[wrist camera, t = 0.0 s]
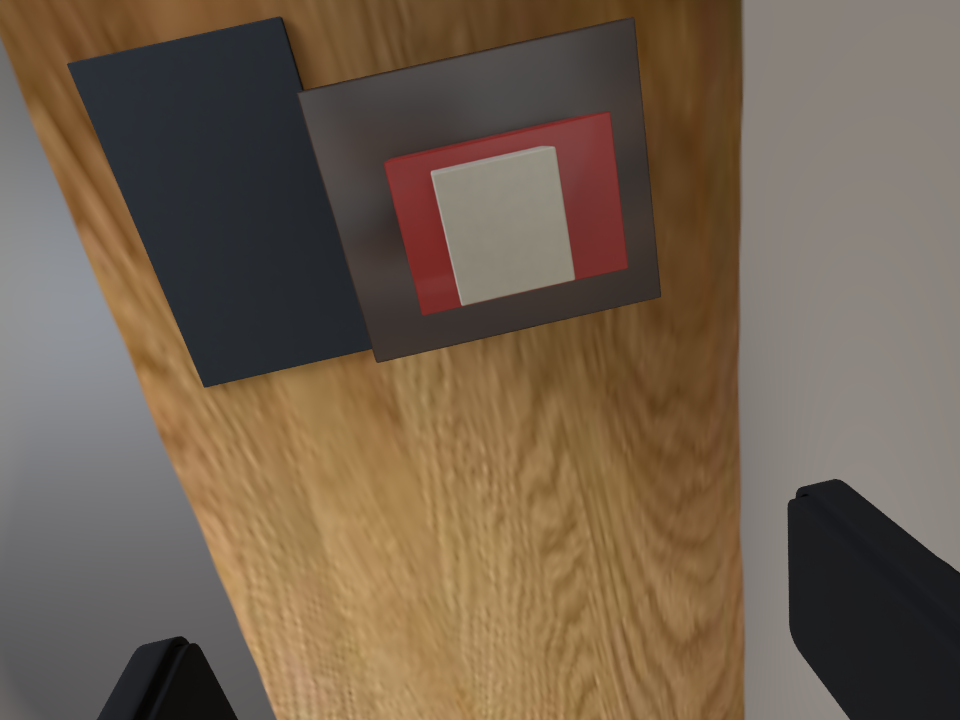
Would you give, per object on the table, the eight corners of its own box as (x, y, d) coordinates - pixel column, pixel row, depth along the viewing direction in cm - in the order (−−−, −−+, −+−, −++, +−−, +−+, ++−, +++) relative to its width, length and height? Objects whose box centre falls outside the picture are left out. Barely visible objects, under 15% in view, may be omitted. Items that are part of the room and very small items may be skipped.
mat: (70, 64, 32) (66, 63, 32) (282, 17, 33) (280, 16, 32) (206, 385, 40) (204, 388, 39) (378, 345, 40) (377, 347, 40)
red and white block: (421, 285, 27) (422, 332, 20) (389, 158, 25) (379, 164, 18) (592, 246, 27) (648, 280, 20) (574, 116, 25) (630, 108, 18)
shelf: (334, 107, 34) (295, 92, 23) (565, 55, 35) (635, 15, 24) (388, 299, 39) (376, 364, 28) (592, 252, 39) (662, 297, 28)
